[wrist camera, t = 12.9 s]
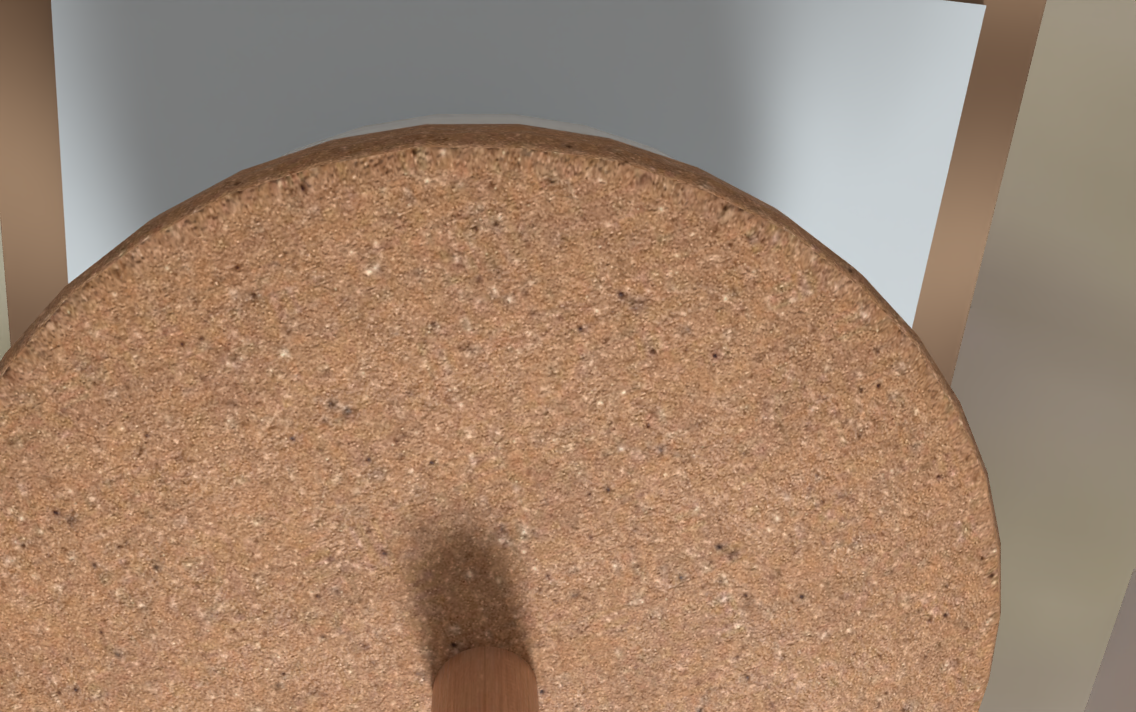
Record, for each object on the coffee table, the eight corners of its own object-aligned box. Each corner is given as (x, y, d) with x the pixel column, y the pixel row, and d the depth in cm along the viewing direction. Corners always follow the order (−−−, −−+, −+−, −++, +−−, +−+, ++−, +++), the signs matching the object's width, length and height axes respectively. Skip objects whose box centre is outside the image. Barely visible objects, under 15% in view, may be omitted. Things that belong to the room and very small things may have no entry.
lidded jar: (866, 526, 19) (1199, 997, 10) (341, 731, 20) (224, 1340, 11) (670, -49, 15) (921, -96, 6) (31, 228, 16) (-532, 528, 7)
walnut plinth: (51, -164, 17) (-37, -193, 14) (975, -51, 18) (1064, -57, 16) (98, 655, 22) (41, 752, 19) (811, 683, 24) (855, 777, 21)
